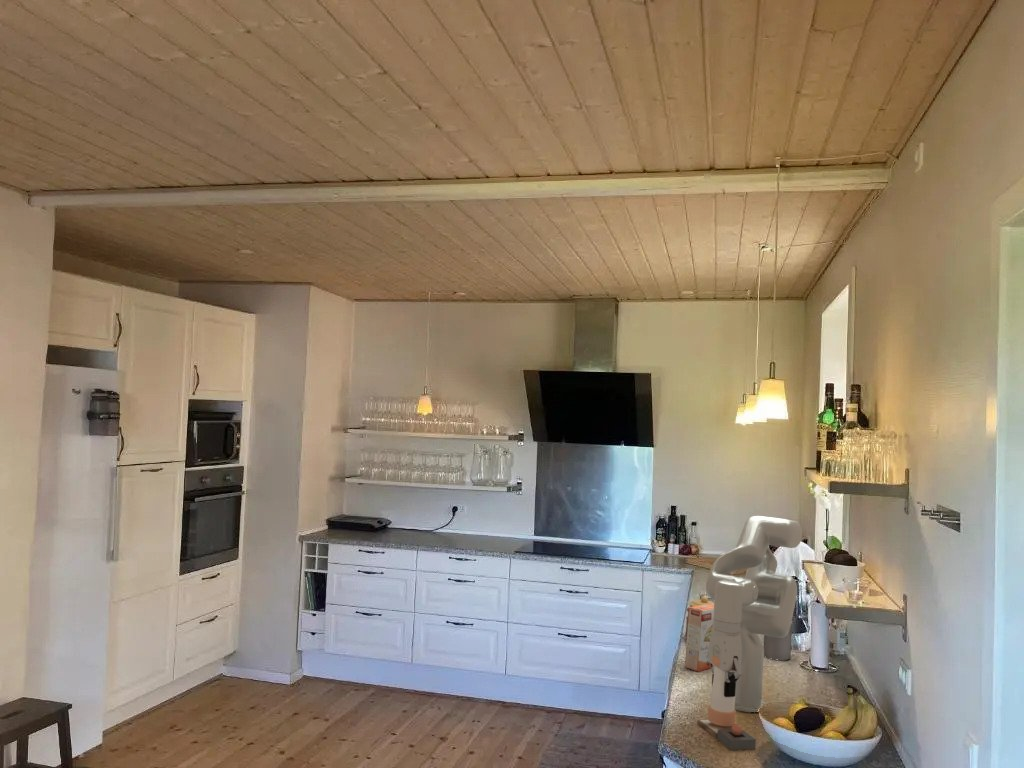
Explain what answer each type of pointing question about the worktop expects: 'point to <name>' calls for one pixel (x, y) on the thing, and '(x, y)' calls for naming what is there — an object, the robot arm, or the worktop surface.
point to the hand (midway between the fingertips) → (723, 691)
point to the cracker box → (699, 637)
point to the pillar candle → (778, 646)
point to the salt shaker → (720, 699)
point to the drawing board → (711, 727)
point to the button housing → (736, 740)
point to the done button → (736, 729)
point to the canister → (696, 603)
